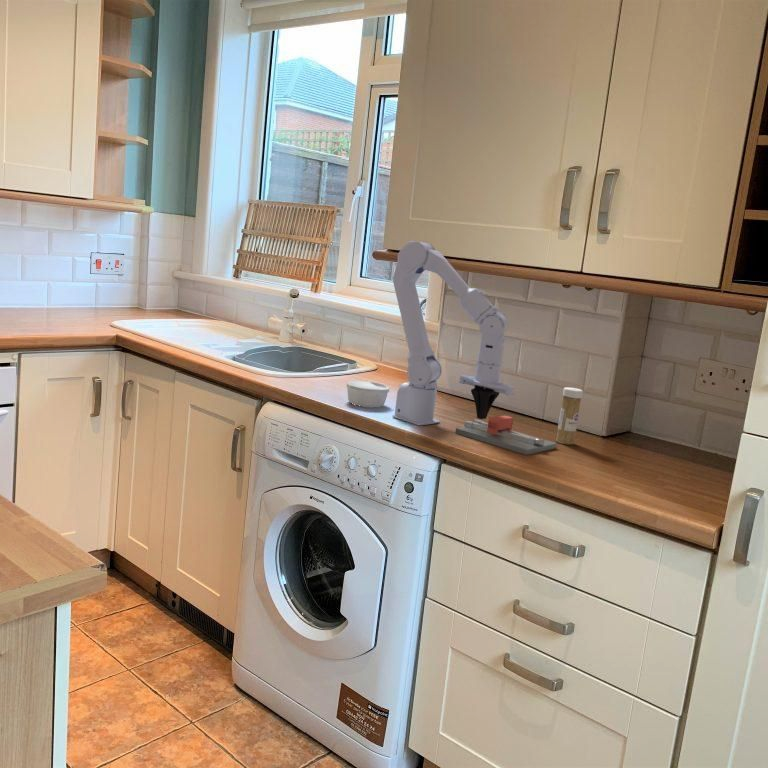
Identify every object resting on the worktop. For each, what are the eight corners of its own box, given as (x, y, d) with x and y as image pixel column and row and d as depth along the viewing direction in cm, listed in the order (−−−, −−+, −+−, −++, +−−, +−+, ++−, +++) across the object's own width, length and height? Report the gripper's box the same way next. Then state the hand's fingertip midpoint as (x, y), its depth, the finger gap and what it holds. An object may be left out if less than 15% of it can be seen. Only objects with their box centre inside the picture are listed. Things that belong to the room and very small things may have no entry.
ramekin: (395, 406, 215) (397, 387, 214) (369, 411, 206) (372, 391, 206) (362, 398, 222) (364, 379, 221) (336, 401, 213) (338, 382, 212)
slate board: (455, 433, 193) (455, 428, 193) (486, 427, 203) (487, 423, 202) (526, 455, 180) (527, 449, 180) (556, 448, 190) (556, 443, 189)
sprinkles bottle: (571, 446, 193) (580, 391, 191) (552, 442, 196) (561, 387, 193) (576, 443, 197) (585, 389, 195) (558, 439, 200) (567, 385, 197)
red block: (486, 432, 191) (489, 417, 190) (503, 429, 196) (505, 415, 195) (495, 434, 189) (497, 420, 188) (511, 431, 194) (513, 417, 193)
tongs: (463, 426, 196) (464, 420, 196) (476, 424, 200) (477, 418, 200) (536, 447, 183) (537, 441, 182) (548, 445, 186) (549, 439, 186)
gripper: (455, 358, 195) (447, 412, 197) (505, 369, 185) (496, 427, 188) (472, 357, 200) (465, 410, 203) (521, 368, 191) (513, 424, 193)
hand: (481, 418), depth 196 cm, fingers closed
